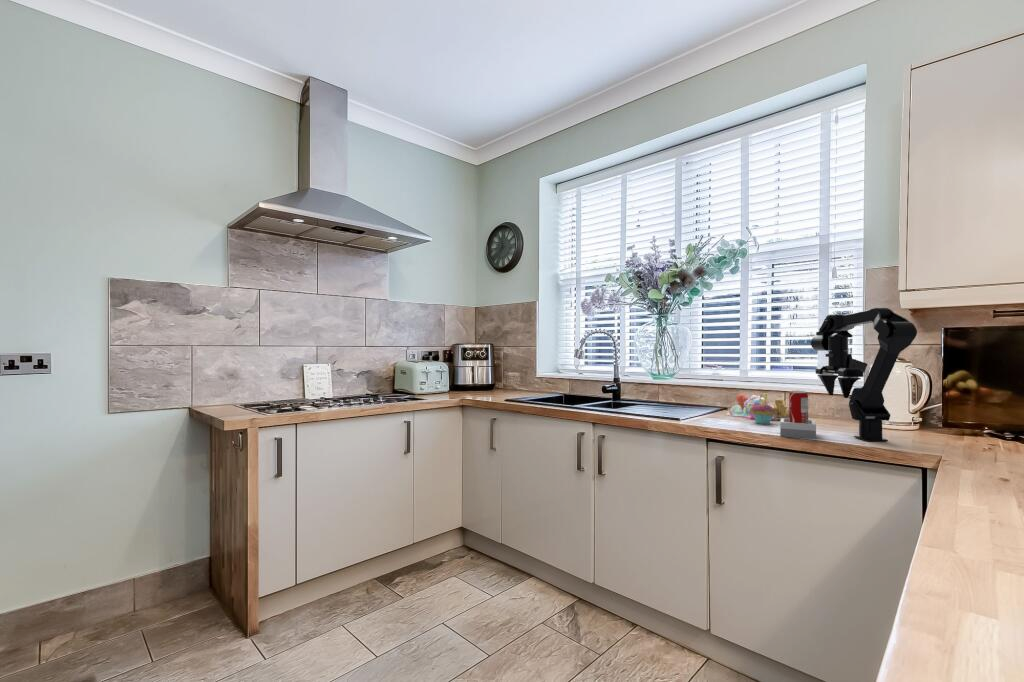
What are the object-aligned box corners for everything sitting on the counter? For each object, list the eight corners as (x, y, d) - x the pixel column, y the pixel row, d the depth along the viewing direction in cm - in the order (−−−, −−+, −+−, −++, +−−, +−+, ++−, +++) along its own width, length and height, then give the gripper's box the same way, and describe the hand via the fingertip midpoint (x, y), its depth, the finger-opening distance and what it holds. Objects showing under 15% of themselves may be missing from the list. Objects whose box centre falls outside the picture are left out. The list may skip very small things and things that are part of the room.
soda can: (787, 425, 168) (787, 389, 168) (806, 426, 166) (806, 390, 166) (790, 427, 163) (790, 391, 163) (809, 428, 161) (809, 391, 161)
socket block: (814, 433, 166) (814, 420, 166) (816, 438, 157) (816, 424, 158) (781, 431, 171) (780, 418, 171) (780, 435, 162) (780, 422, 162)
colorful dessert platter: (794, 415, 211) (794, 393, 211) (792, 423, 190) (792, 399, 191) (730, 411, 224) (730, 391, 224) (722, 418, 203) (722, 395, 204)
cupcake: (780, 423, 187) (780, 392, 187) (763, 425, 184) (763, 392, 184) (761, 420, 195) (761, 390, 195) (744, 422, 192) (744, 390, 192)
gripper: (880, 351, 160) (881, 399, 160) (847, 350, 178) (847, 394, 178) (844, 351, 161) (844, 399, 161) (814, 350, 179) (814, 393, 179)
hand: (838, 396), depth 170 cm, fingers open, 9 cm apart
